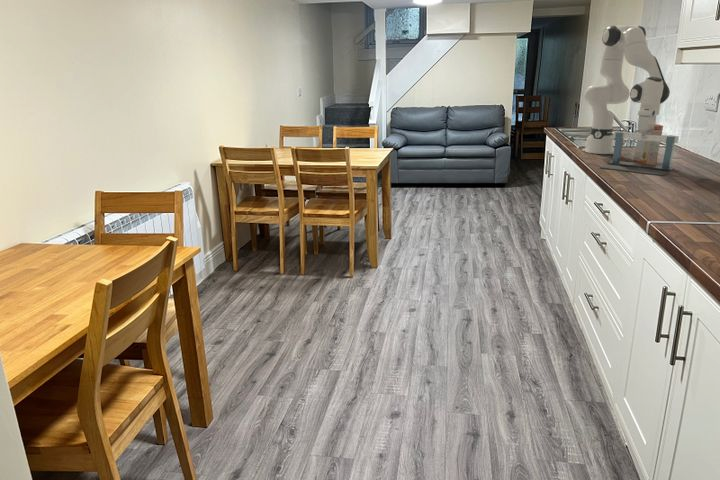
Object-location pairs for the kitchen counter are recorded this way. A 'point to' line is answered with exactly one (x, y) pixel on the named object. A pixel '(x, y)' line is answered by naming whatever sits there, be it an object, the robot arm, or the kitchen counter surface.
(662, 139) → the rail
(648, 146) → the cracker box
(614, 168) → the mat
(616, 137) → the rack
